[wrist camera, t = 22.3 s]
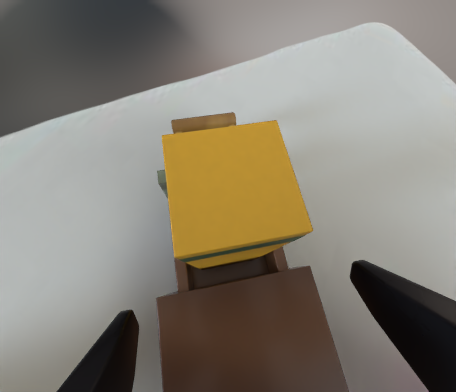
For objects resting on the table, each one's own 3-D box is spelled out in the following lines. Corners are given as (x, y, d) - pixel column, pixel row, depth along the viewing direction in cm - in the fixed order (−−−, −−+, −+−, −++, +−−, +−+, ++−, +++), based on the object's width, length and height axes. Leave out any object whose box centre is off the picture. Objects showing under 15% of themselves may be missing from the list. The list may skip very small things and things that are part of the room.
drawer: (163, 144, 24) (152, 117, 20) (245, 132, 25) (250, 105, 21) (181, 315, 18) (171, 326, 14) (287, 292, 19) (305, 296, 15)
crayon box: (256, 259, 19) (314, 231, 7) (201, 270, 18) (173, 258, 7) (244, 206, 20) (277, 119, 9) (193, 215, 20) (160, 134, 9)
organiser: (173, 292, 19) (155, 297, 14) (285, 268, 20) (310, 265, 15) (192, 483, 15) (177, 603, 9) (331, 440, 16) (391, 526, 11)
